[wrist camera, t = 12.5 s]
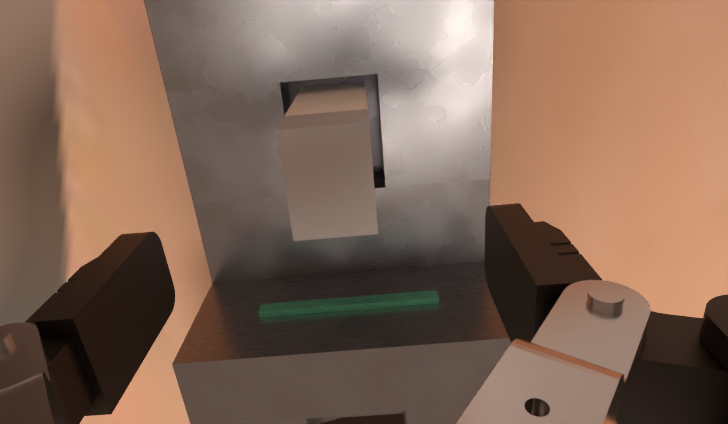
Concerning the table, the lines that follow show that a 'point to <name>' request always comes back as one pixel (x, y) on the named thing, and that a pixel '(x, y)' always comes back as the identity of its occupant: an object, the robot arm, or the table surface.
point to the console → (342, 254)
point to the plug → (328, 163)
